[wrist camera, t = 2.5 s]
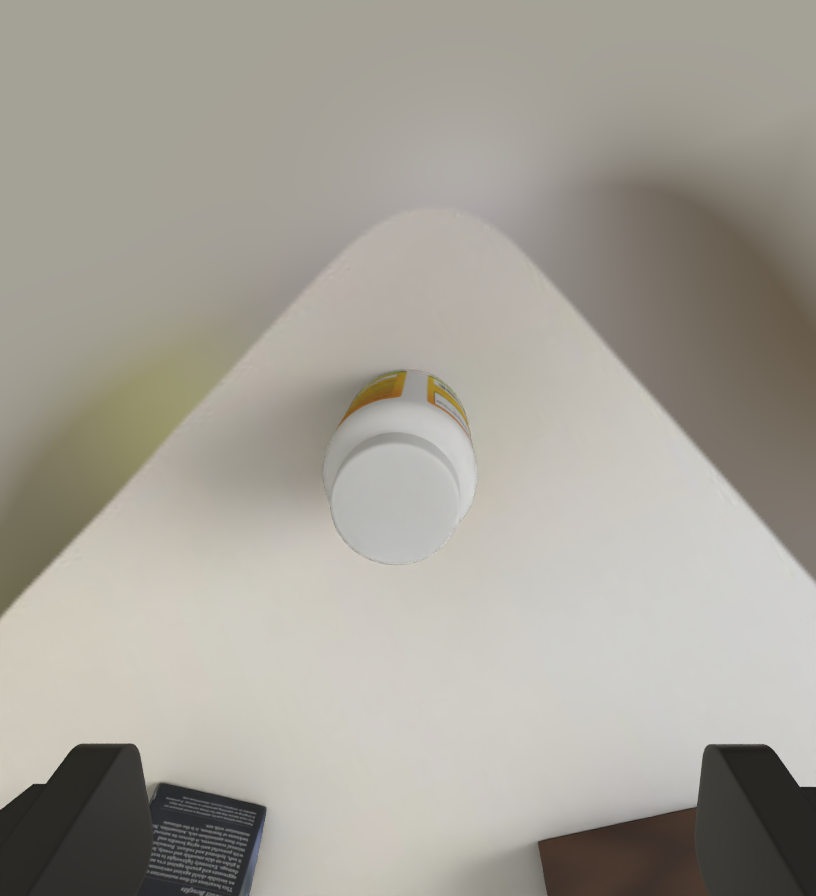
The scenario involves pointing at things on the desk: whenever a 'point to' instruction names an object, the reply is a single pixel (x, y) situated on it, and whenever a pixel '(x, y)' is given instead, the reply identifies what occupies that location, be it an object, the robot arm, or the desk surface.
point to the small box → (201, 844)
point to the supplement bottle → (400, 468)
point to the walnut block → (626, 859)
